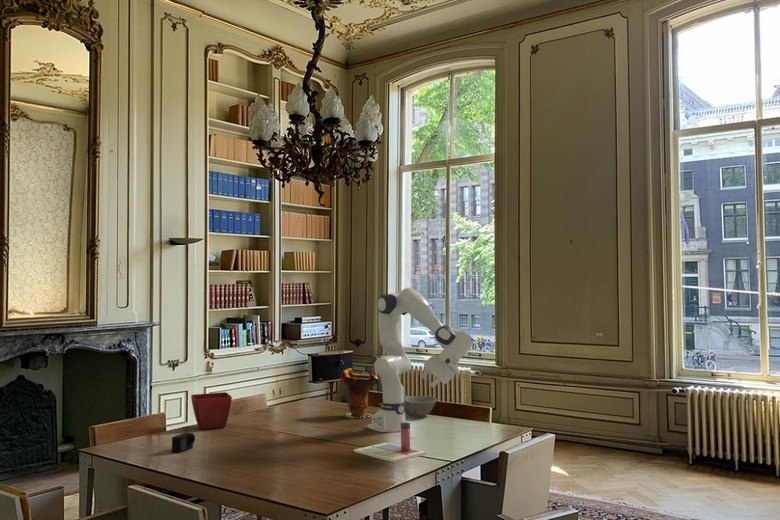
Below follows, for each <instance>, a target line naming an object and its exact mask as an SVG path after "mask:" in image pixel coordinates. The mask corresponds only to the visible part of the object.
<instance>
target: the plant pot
mask: <svg viewBox="0 0 780 520" xmlns="http://www.w3.org/2000/svg"><path fill="white" fill-rule="evenodd" d="M190 397H191V403H192V409H193V415H194V417H195V420H196V424H197V427H198V426H199V427H198V428H199V430H200V429H206V430H212V429H211V428H216V429H223V428H222V427H225V428H226V426H227V422H228V420H229V419H228V418H229V415H230V410H231V408H232V407H231V406H232V399H233V397H232V396H231V395H230V394H229V393H228V392H225V391H223V392H209V393H197V394H191V395H190Z"/></svg>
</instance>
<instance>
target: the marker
mask: <svg viewBox="0 0 780 520" xmlns="http://www.w3.org/2000/svg"><path fill="white" fill-rule="evenodd" d="M400 424H401V431H400V446H401V451H402V452H409V451H410V448H411V423H410V422H407V421H406V422H403V423H400Z"/></svg>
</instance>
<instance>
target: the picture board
mask: <svg viewBox="0 0 780 520" xmlns="http://www.w3.org/2000/svg"><path fill="white" fill-rule="evenodd" d="M353 452H354V453H357V454H360V455H365V456H369V457H372V458H376V459H380V460H383V461H387V462H391V463H396V462H400V461H404V460H408V459H413V458H417V457H421V456H424V455H427V453H428V452H427V451H425V450H424V451H423V450H421V449H417V448H412V447H410V451H409V452H402V451H401V444H400V445H398V444H395V443H390V442H384V443H383V442H382V443H378V444H373V445H370V446H365V447H359V448H354V449H353Z"/></svg>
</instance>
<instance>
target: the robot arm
mask: <svg viewBox="0 0 780 520" xmlns="http://www.w3.org/2000/svg"><path fill="white" fill-rule="evenodd" d="M376 307H377V311H378V322H377V323H378V332H379V333H378V335H379V344H380V345H381V346H382V348H383V349H384V351H385V354H386V355H382V356H380V357H379V358H377V359H376V360H375V362H374V367H373V368H374V370H375V371H376V373H377V376H379V379H380V382H381V387H382V402H379V406H380V409H379V410H377V412H376V413H375V414H373V415H372V417H371V424H367V425H366V427H367V429H370V430H373V431H376V432H379V433H387V432H388V433H396V432H397V433H398V432H401V424H400V423H403V422H407V420H406V413H405V412H404V409H405V402H404V397H405V393H404V392H405V389H404V385H402V383H401V381H400V376H399V375H402V374H405V373H407V372H408V371H410V368H411V366H412V361H411V359H410V357H409V356H408V355H407V353H406V351H405V349H404V346H403V344H402V343H403V342H402V336H401V331H400V328H401V327H400V323H399V321H400V320H399V319H400V316H401V315H402V316H405V315H407V314H409V315H410V316H411V317H412V318H413V319H415V321H417V322H419V324H421V325H422V326H425V328H427V329H428V330H430V332H432V334H433V335H434V338H435V341H436V342H437V343H438V345H439V346H441V348H442V349H443V350H442V351H441V352H440V353H436V354H434V355H432V356H430V357H429V358H428V359H427V360H426V361H425V362H424V364H423V366H424V368H425V369H424V371H423V373H422V374H421V376H420V377H421V378H422V379H423V380H426V379H427V378H428V377H427V376H428V374H432V375H433V376H434V377H435V379H434V381H431V382H430V383H429V386H430V387H432V388H435V386H437V385H439V384H440V383H442V384H443V385H445V384H448V383H449V382H450V381H451V380H452V379H453V378H454V377H455V374H458V373H459V371H460V368H459V367H458V363H459V362H460V360H461V358H463V357H464V356H465V355H466V354H467V353H469V351H470V349H471V348H472V346H473V345H474V339H473V338H472V336H471V335H470V333H469V332H468V331H467V330H464V329H463V330H461V329H455V328H453V327H450V326H449V325H445V324H444V325H443V323H441V321H440V320H439V319H438V317H437V315H436V314H435V312H434V309H433V308H432V306H431V305H430V303H429V302H428V301H427V299H426V298H425V297H424V295H422V294H421V293H419V291H417V290H416V289H414V288H412V287H405V288H403V289H402V290H401V291H400V292H393V293H385V294H382V295H380V296H379V297H378V299H377V301H376ZM375 371H374V372H375Z"/></svg>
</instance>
